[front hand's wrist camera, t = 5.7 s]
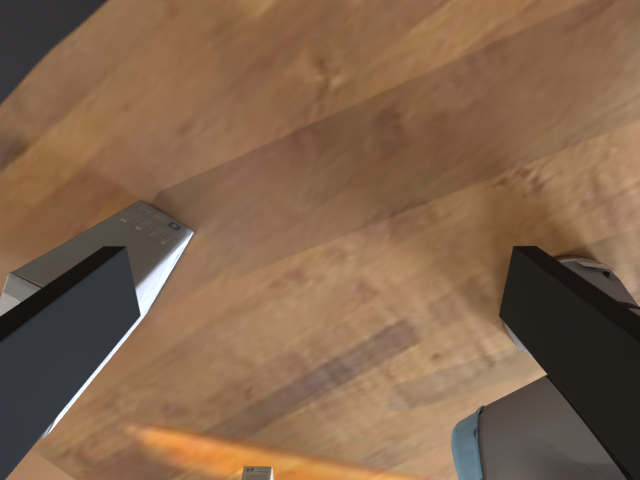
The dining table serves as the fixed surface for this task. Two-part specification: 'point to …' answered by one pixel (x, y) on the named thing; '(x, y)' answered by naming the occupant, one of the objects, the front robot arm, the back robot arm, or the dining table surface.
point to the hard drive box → (119, 230)
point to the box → (257, 473)
